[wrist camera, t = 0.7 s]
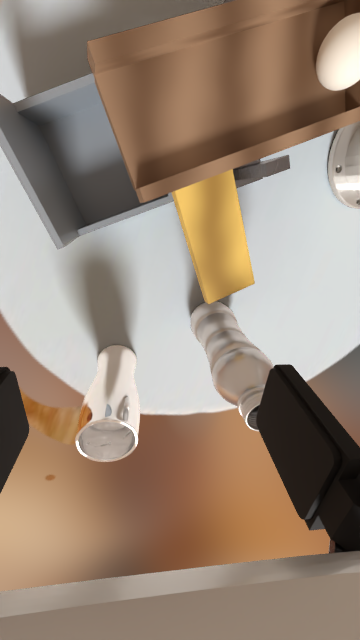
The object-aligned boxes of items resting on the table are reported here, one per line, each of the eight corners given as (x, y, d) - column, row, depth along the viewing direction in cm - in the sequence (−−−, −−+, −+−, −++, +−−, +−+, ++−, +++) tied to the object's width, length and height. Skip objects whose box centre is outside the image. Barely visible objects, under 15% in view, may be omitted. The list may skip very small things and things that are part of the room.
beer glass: (146, 350, 41) (150, 427, 28) (129, 383, 43) (125, 468, 30) (104, 335, 39) (86, 411, 25) (88, 370, 41) (63, 456, 28)
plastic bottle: (201, 289, 38) (258, 375, 20) (238, 308, 40) (317, 401, 22) (179, 324, 40) (213, 431, 22) (215, 340, 42) (271, 449, 24)
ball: (344, 27, 20) (398, -11, 17) (344, 91, 22) (393, 68, 19) (302, 41, 20) (348, 4, 16) (306, 104, 21) (348, 84, 18)
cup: (134, 84, 26) (131, 12, 16) (169, 198, 32) (185, 202, 21) (32, 123, 27) (-38, 77, 16) (84, 230, 32) (57, 249, 21)
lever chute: (310, 18, 23) (381, -45, 17) (321, 228, 32) (371, 232, 26) (88, 85, 20) (86, 36, 15) (167, 296, 29) (186, 317, 23)
